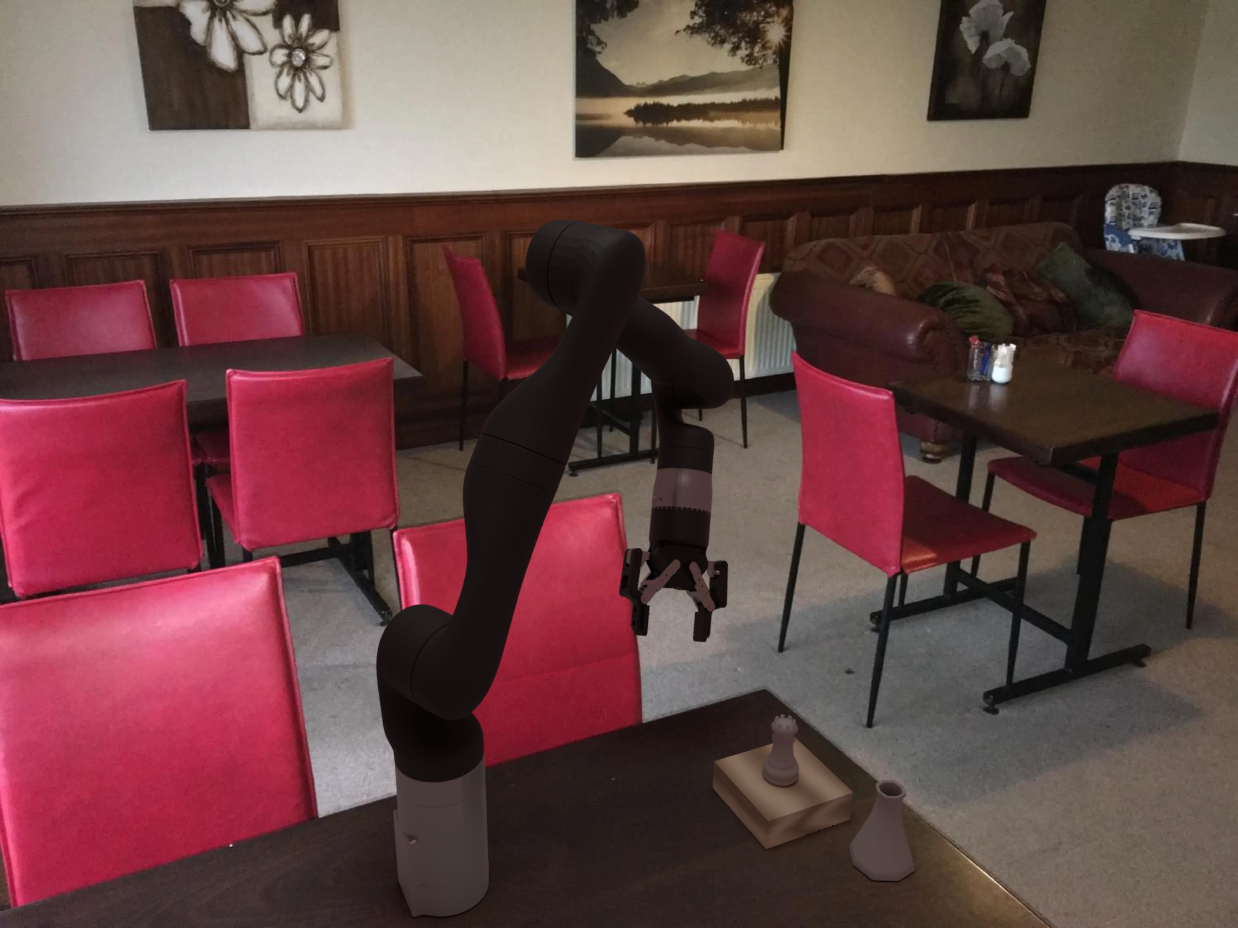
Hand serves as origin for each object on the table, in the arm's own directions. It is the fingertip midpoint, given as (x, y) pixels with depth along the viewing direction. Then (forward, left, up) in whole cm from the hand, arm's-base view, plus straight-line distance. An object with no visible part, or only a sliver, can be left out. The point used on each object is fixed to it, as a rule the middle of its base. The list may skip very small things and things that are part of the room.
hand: (670, 638), depth 127 cm
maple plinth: (+9, -13, -19) cm, 24 cm away
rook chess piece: (+9, -12, -15) cm, 21 cm away
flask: (+14, -26, -19) cm, 35 cm away
